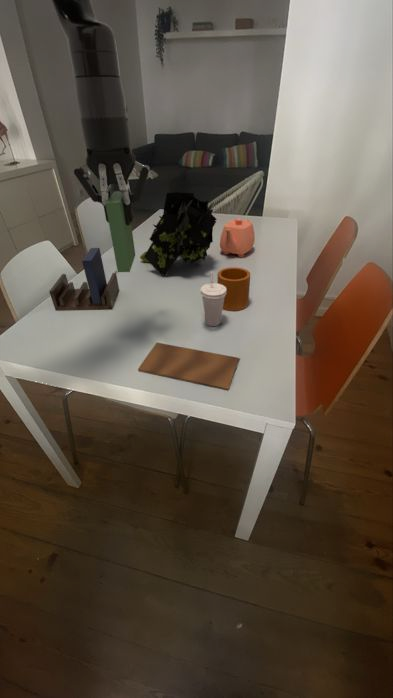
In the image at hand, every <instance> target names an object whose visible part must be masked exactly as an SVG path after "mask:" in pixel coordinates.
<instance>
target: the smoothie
mask: <svg viewBox="0 0 393 698" xmlns="http://www.w3.org/2000/svg"><path fill="white" fill-rule="evenodd" d="M209 275H210V276H209V278H210V279H209V280H210V283H206V284H204V285H202V286H201V288H200V295H201V297H202V303H203V312H204V318H205V324H206V325H207V326H209V327H218V326H219V325H220V324H221V320H222V315H223V314H222V313H223V310H224V309H223V304H224V298H225V295H226V293H227V292H226V290H227V289H226V287H225V286H223V285H221V284H218V282H217V283H216V282H214V280H213V279H214V272H213V271H210V274H209ZM213 282H214V283H213Z"/></svg>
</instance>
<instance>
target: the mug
mask: <svg viewBox="0 0 393 698" xmlns="http://www.w3.org/2000/svg"><path fill="white" fill-rule="evenodd" d="M217 284H221V285H223V286H225V287H226V289H227V290H226V292H227V293H226V295H225V298H224V304H223V309H222V310H226V311H232V312H235V311H242V310H244V309H246V308H247V307H248V306H249V299H250V286H251V285H250V284H251V272H250V271H249V270H247V269H245V268H243V267H238V266H237V267H236V266H235V267H232V266H231V267H226V268H222V269H220V270H219V271H218V272H217Z"/></svg>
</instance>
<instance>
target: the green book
mask: <svg viewBox="0 0 393 698" xmlns="http://www.w3.org/2000/svg"><path fill="white" fill-rule="evenodd" d="M105 205H106V210H107V216H108V221H109V223H108V226H109V227H108V228H109V231H110V237H111V242H112V248H113V253H114V260H115V264H116V265H115V266H116V272H117V273H131V269H132V267H133V264H134V260H135V258H136V249H135V242H134V236H133V227H132V223H131V224H130V225H126V222H125V215H124V208H123V205H124V201H123V198H122V194H121V192H120V190H117V191H113V193H111V196H110V198H109V199H108V200H107V201H106V203H105Z"/></svg>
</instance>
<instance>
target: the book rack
mask: <svg viewBox="0 0 393 698" xmlns="http://www.w3.org/2000/svg"><path fill="white" fill-rule="evenodd" d="M118 281H119V280H118V276H117V272H112V274H111V275H110V278H109V280H108V282H107V286H106V288H105V290H104V292H103V294H102V296H101V301H102V305H93V302H92V298H91V295H90V291H89V287H88V283H87V281H83V282H82V284H81V285H80V287H79V288H76V287H75V285H74V282H73V281H68V277H67V274H66V273H62V274H61V275H60V276H59V277H58V279H57V281H56V282H55V283H54V284H53V286H51V288H50V290H49V291H48V292H49V295H50V298H51V301H52V304H53V308H54V310H55V311H97V310H98V311H99V310H113V308H114V306H115V304H116V301H117V299H118V296H119V293H120V286H119V282H118Z"/></svg>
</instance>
